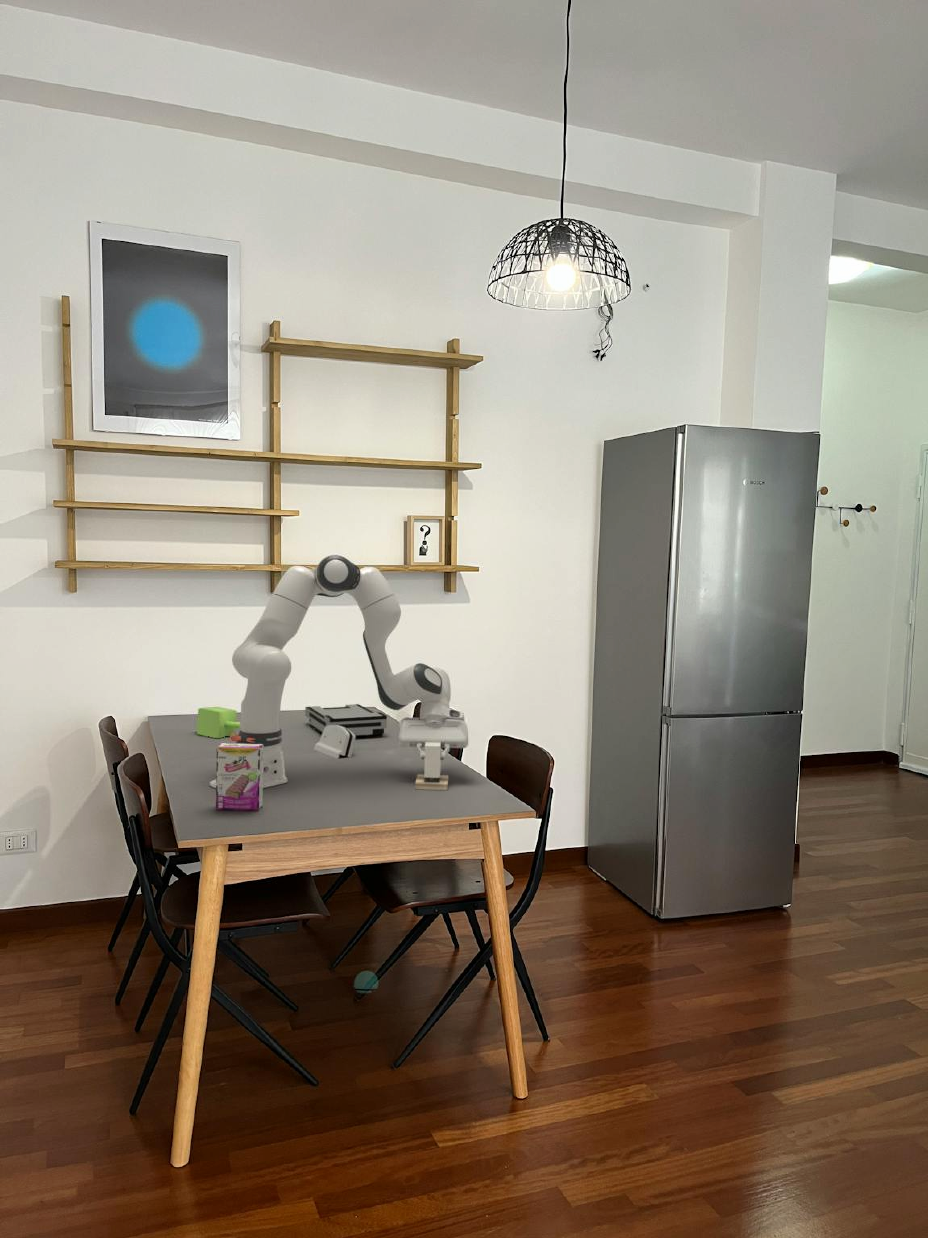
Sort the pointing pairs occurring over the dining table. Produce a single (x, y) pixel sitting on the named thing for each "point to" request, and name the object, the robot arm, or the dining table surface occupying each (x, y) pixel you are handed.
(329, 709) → the office tray
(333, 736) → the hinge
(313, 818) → the dining table surface
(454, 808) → the dining table surface
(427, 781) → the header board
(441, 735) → the robot arm
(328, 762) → the dining table surface
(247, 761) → the candy bar box
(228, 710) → the gearbox
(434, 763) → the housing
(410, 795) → the dining table surface
